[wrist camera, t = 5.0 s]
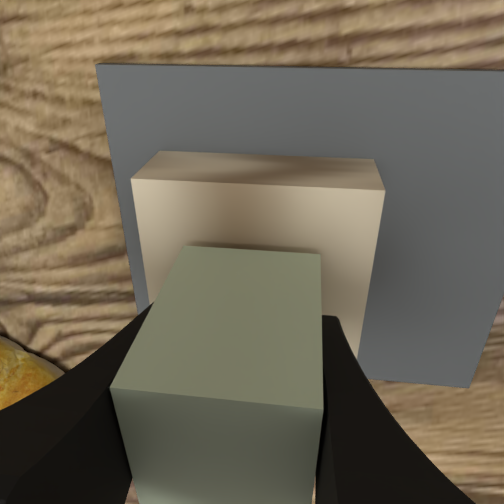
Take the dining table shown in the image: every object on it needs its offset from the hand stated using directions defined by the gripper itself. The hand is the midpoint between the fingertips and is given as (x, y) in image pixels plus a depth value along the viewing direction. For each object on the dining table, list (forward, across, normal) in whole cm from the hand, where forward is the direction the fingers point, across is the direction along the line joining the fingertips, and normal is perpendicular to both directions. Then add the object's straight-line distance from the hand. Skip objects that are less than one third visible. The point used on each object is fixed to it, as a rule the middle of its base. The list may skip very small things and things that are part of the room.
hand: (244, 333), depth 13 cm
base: (+5, 0, 0) cm, 5 cm away
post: (+2, 0, 0) cm, 2 cm away
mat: (+6, -2, 0) cm, 6 cm away
